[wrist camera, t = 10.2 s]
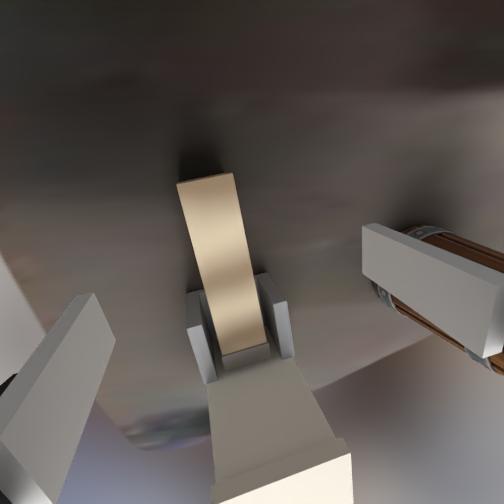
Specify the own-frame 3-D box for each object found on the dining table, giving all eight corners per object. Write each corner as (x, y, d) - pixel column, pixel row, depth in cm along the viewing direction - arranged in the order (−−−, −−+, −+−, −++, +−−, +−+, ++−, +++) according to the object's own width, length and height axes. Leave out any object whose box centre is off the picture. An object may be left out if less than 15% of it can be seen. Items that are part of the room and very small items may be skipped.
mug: (352, 277, 31) (486, 376, 17) (417, 203, 30) (618, 246, 16) (422, 336, 37) (564, 444, 23) (479, 276, 36) (665, 353, 22)
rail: (177, 182, 23) (174, 184, 18) (225, 172, 24) (234, 172, 19) (219, 337, 28) (225, 371, 23) (257, 325, 29) (271, 357, 24)
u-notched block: (185, 293, 27) (185, 439, 13) (267, 271, 28) (346, 383, 14) (210, 378, 31) (231, 556, 17) (281, 356, 32) (353, 505, 19)
